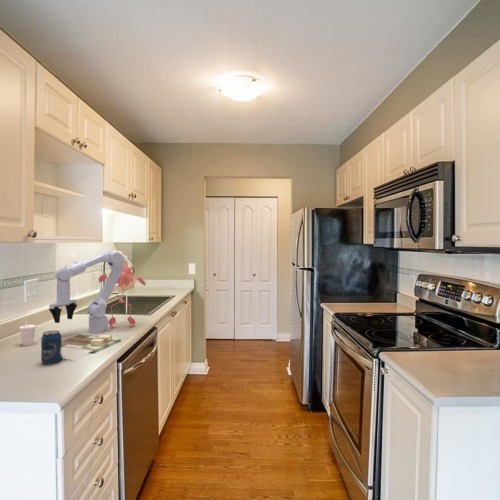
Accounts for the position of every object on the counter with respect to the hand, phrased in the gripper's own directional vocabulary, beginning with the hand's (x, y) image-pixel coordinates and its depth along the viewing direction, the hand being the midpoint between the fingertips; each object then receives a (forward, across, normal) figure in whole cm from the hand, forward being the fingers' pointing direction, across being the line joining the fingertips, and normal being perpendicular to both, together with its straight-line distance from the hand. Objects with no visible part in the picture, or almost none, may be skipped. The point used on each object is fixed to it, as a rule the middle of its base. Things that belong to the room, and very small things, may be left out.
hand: (63, 320), depth 164 cm
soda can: (+10, +25, +19) cm, 33 cm away
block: (+8, +3, +24) cm, 26 cm away
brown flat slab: (+9, +3, +16) cm, 19 cm away
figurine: (+10, -32, +10) cm, 35 cm away
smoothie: (+10, +14, -6) cm, 18 cm away
